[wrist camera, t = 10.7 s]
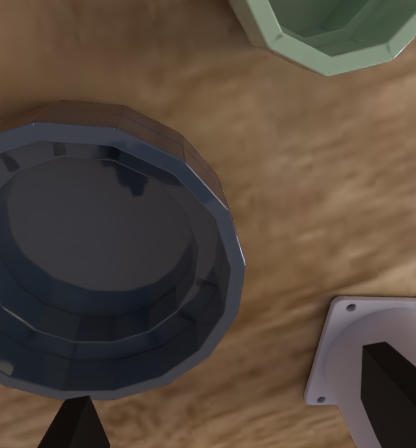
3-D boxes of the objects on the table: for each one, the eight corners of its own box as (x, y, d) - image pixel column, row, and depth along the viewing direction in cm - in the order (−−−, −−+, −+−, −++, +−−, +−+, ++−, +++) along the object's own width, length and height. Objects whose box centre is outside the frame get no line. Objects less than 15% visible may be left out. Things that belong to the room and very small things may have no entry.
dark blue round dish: (244, 112, 17) (268, 139, 13) (214, 334, 22) (224, 399, 18) (-69, 85, 15) (-146, 107, 11) (-20, 332, 20) (-61, 402, 17)
